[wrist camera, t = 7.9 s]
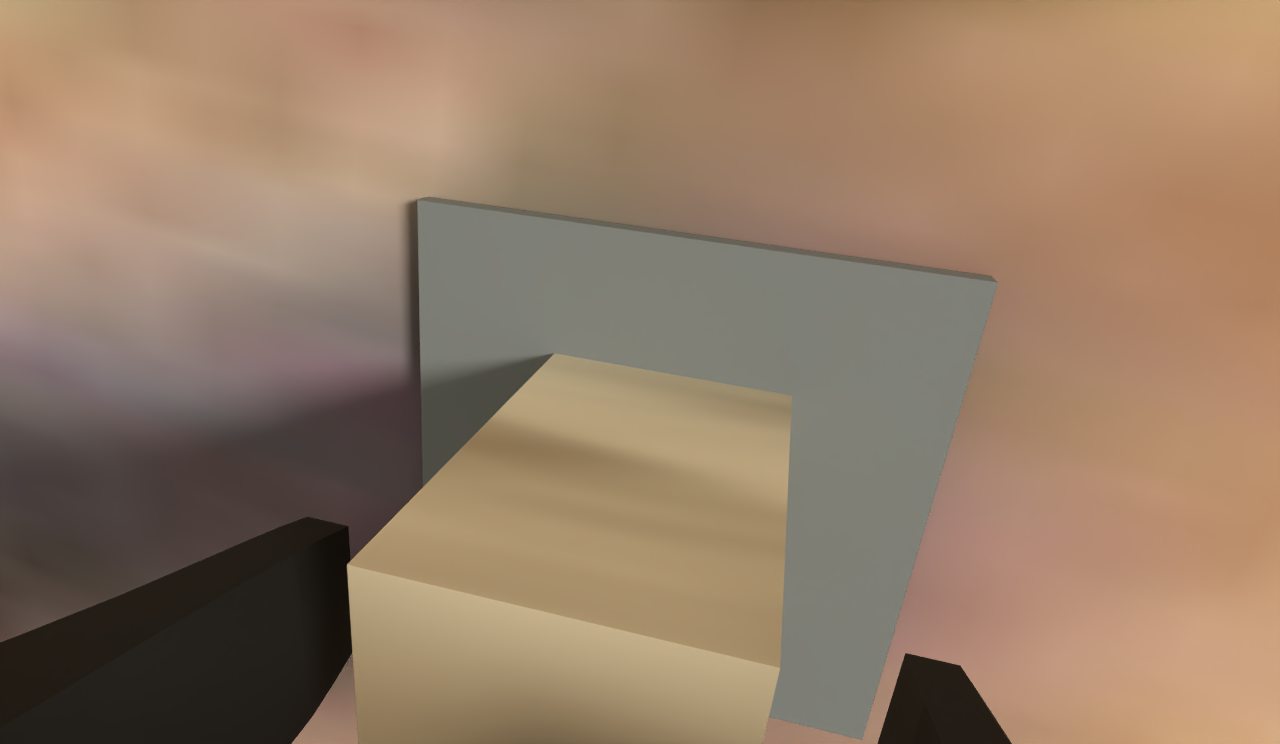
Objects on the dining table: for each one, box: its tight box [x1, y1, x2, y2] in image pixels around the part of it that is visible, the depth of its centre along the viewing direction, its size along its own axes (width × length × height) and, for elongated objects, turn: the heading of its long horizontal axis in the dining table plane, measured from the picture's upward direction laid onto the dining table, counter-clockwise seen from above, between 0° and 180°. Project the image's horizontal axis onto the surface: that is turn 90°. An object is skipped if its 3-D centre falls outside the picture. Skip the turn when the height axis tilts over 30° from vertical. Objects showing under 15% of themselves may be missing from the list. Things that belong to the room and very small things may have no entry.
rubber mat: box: [417, 197, 998, 740], centre depth 13 cm, size 9×9×1 cm
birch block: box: [347, 353, 792, 744], centre depth 10 cm, size 4×4×6 cm
